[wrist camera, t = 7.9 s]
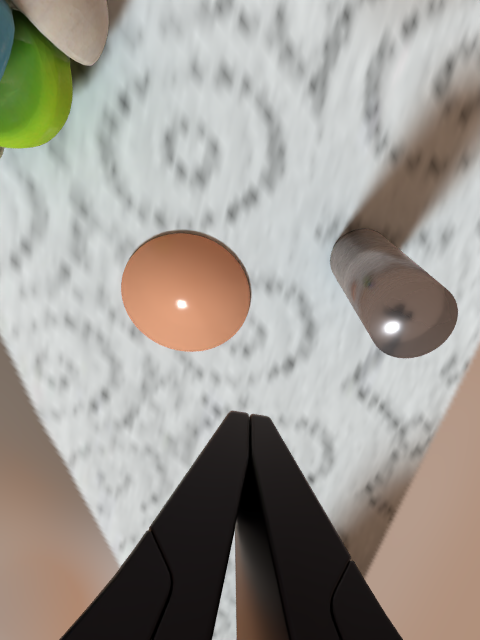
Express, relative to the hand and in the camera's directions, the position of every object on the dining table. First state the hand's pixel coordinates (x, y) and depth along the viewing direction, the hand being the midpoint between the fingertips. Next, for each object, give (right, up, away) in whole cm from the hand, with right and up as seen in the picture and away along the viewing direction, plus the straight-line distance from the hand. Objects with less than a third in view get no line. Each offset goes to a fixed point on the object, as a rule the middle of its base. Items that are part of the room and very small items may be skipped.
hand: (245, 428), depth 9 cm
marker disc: (-3, +3, +10) cm, 11 cm away
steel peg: (+5, +5, +9) cm, 11 cm away
